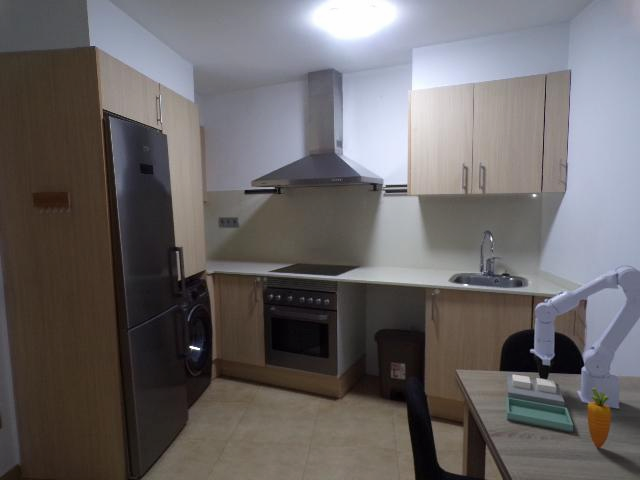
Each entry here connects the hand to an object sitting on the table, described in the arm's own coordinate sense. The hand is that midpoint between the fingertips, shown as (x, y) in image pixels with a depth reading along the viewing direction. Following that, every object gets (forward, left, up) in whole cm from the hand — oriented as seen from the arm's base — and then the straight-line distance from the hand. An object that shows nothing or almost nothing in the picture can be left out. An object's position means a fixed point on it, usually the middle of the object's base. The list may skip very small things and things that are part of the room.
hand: (543, 378), depth 125 cm
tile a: (0, +7, 0) cm, 7 cm away
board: (+3, +8, -4) cm, 10 cm away
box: (+3, +20, -4) cm, 21 cm away
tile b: (+7, +7, 0) cm, 10 cm away
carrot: (-9, +30, -4) cm, 32 cm away
